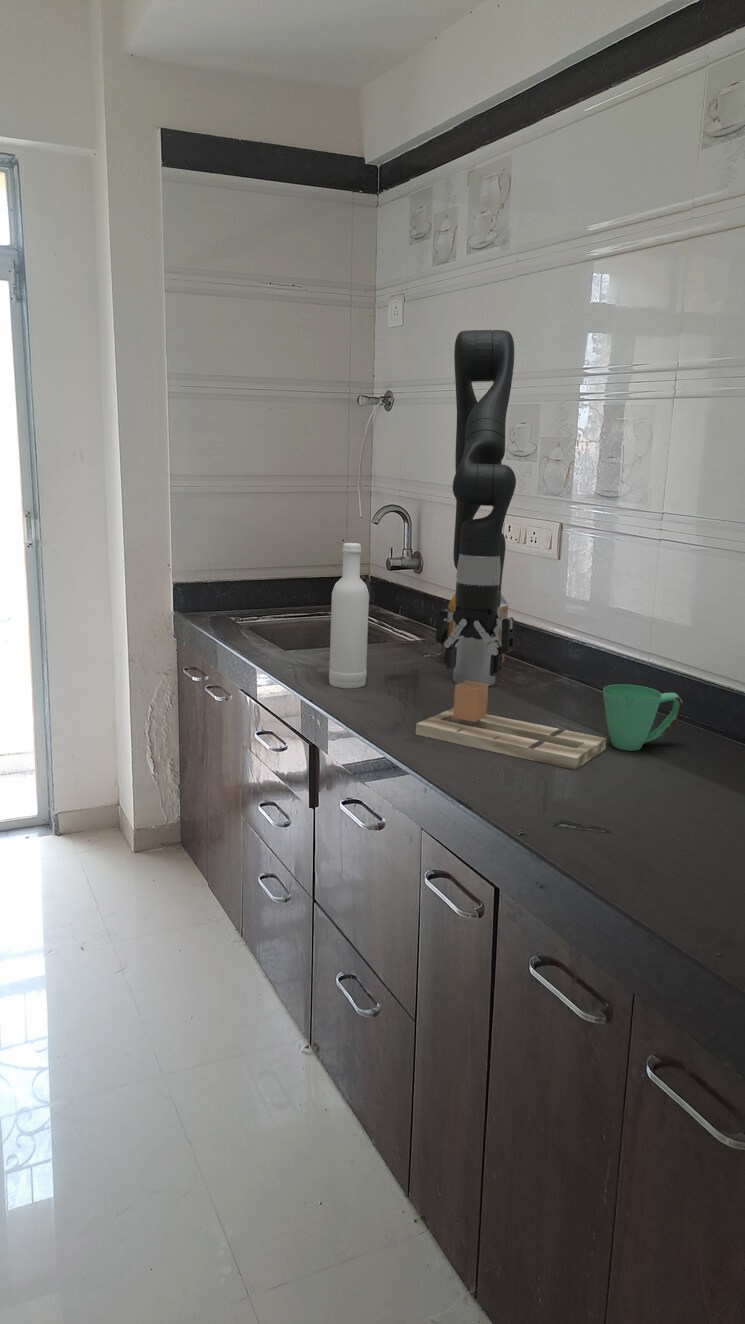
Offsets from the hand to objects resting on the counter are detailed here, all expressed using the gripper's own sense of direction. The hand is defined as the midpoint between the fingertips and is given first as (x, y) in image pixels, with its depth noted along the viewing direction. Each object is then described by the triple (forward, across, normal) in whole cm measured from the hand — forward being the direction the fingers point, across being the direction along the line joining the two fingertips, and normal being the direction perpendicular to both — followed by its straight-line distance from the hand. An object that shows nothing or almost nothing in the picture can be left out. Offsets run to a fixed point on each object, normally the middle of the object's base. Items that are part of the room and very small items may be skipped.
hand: (472, 671), depth 169 cm
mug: (+12, -27, -13) cm, 32 cm away
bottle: (+11, +37, -15) cm, 42 cm away
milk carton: (+11, +26, -53) cm, 60 cm away
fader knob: (+11, 0, 0) cm, 11 cm away
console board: (+12, -8, 0) cm, 14 cm away
